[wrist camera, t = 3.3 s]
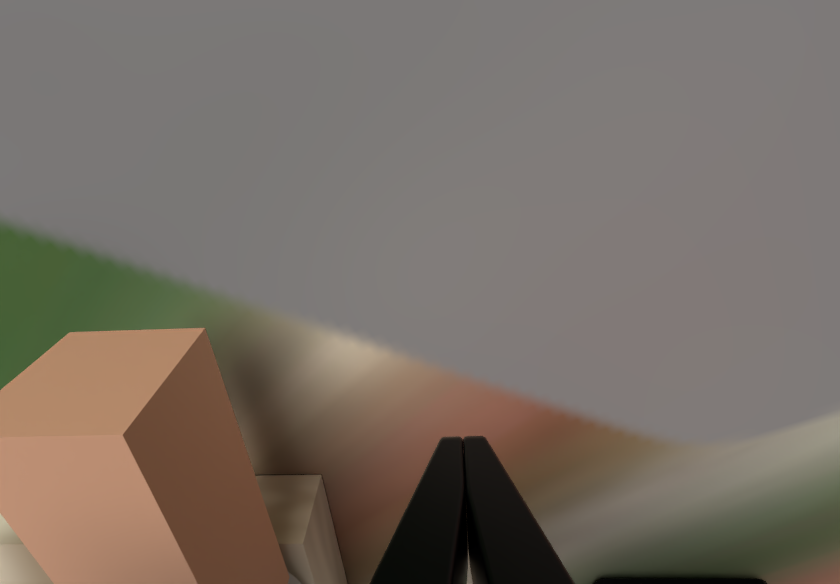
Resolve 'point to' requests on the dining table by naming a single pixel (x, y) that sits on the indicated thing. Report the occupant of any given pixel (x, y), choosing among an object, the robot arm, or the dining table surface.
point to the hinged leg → (133, 465)
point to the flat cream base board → (290, 517)
